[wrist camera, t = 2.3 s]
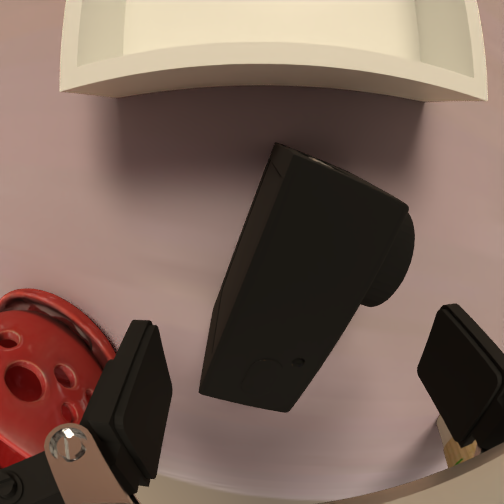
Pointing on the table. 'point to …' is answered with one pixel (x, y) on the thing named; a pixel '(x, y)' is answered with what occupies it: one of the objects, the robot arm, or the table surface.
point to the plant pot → (44, 369)
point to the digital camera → (301, 278)
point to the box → (275, 46)
